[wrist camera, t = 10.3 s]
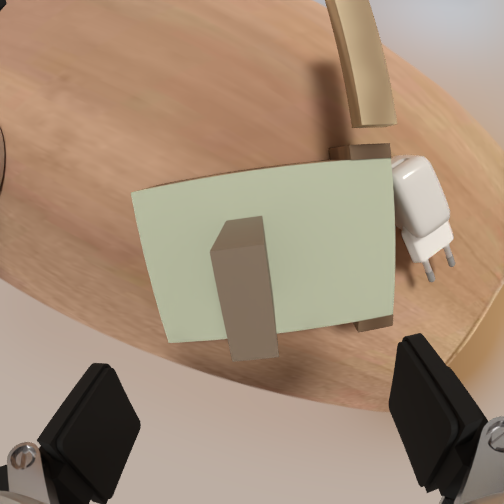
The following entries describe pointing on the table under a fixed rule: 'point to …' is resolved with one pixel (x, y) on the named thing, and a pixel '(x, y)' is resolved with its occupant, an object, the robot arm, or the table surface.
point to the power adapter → (421, 210)
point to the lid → (270, 251)
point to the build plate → (2, 4)
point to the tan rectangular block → (362, 63)
